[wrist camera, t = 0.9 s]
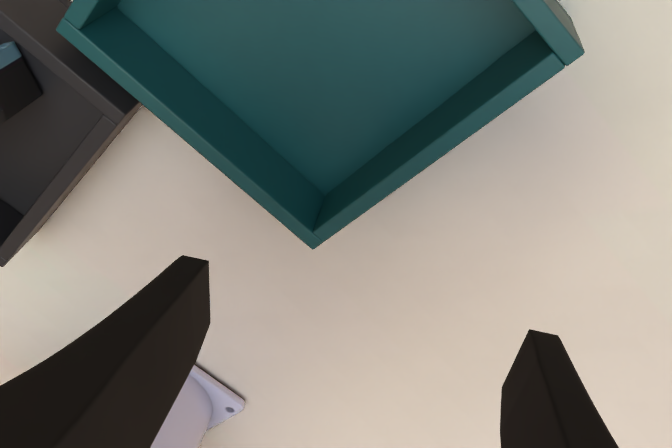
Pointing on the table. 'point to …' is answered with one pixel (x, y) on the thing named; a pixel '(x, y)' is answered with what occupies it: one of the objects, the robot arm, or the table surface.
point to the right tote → (324, 86)
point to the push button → (15, 82)
